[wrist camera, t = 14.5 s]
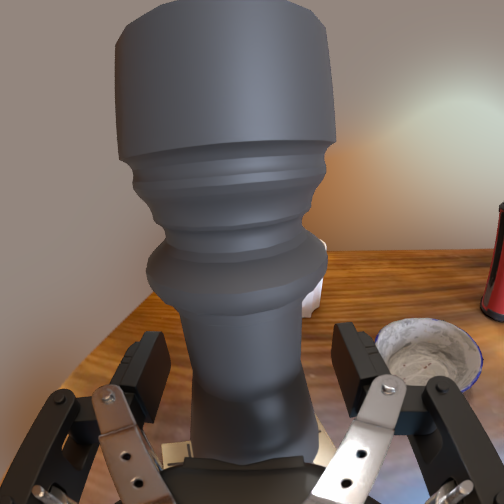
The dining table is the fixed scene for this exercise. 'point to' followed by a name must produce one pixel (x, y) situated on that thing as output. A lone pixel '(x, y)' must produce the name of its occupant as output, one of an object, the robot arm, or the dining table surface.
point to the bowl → (429, 352)
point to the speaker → (496, 276)
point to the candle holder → (232, 203)
